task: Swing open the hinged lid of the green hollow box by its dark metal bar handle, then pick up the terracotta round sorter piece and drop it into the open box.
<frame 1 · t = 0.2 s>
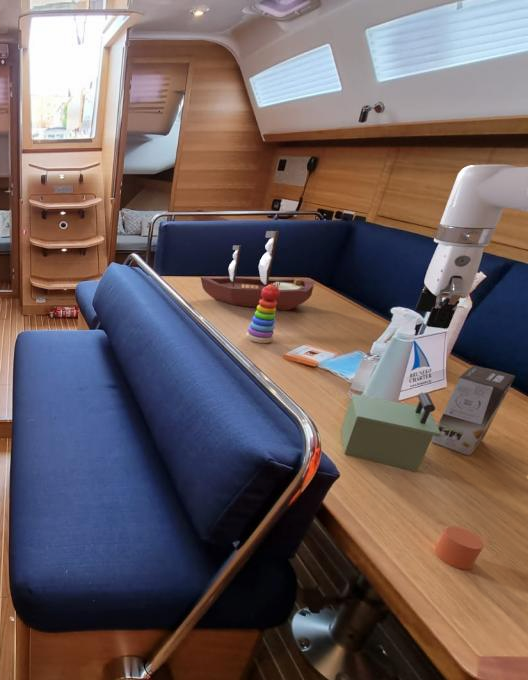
hand: (430, 318, 86), 26 cm above the table, tool pointing down, fingers open, 9 cm apart
green hollow box: (375, 449, 88), on the table
sailing ship: (249, 303, 171), on the table
coffee box: (455, 441, 90), on the table
stacking toy: (258, 339, 140), on the table
sorter piece: (452, 557, 65), on the table
green box lid: (396, 404, 83), point 11 cm above the table, hinge at 0.0°
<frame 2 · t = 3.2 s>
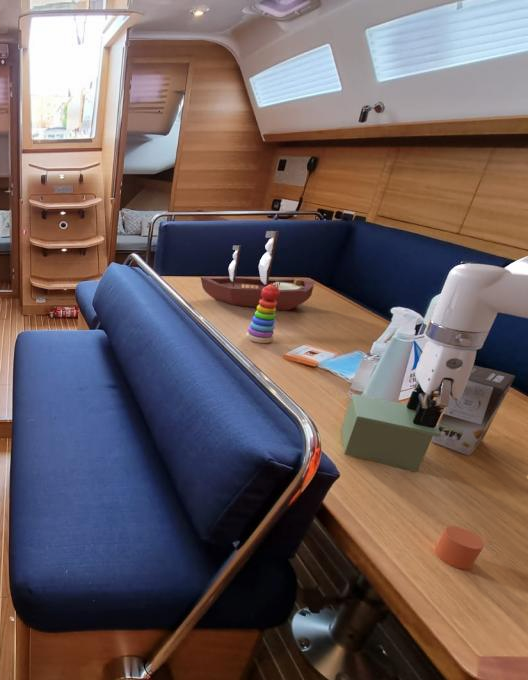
hand: (420, 416, 82), 10 cm above the table, tool pointing down, fingers closed on green box lid, 5 cm apart
green box lid: (396, 404, 83), point 11 cm above the table, hinge at -0.2°, touching gripper
everything else where it was.
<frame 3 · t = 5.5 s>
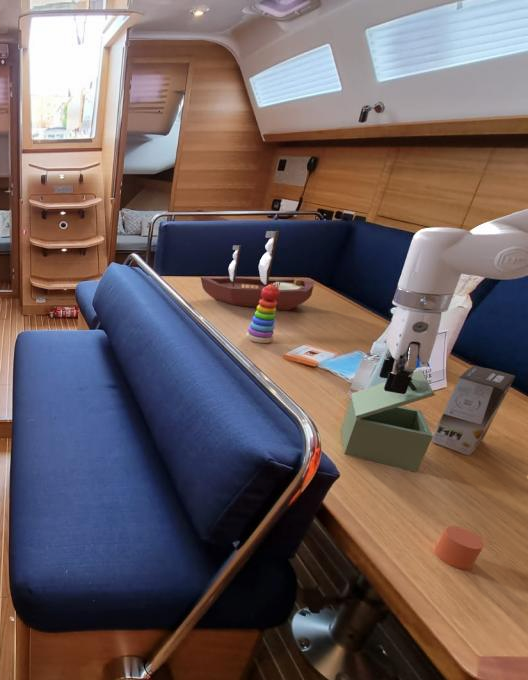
hand: (391, 384, 83), 16 cm above the table, tool pointing down, fingers closed on green box lid, 5 cm apart
green box lid: (382, 385, 83), point 15 cm above the table, hinge at 41.7°, touching gripper
everything else where it was.
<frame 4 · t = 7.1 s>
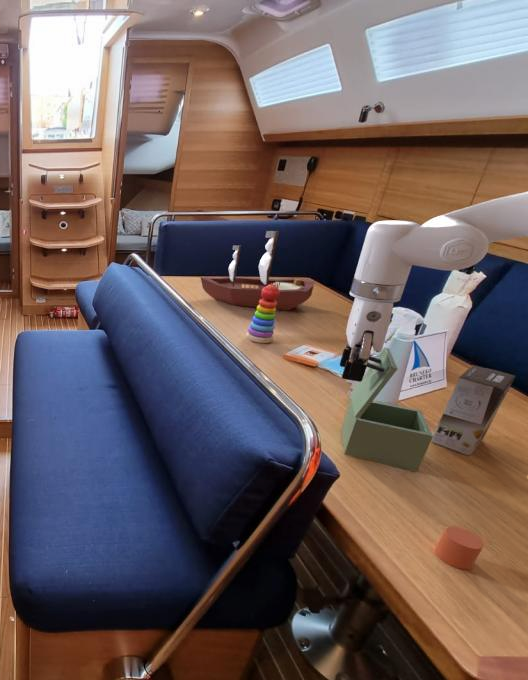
hand: (350, 372, 86), 17 cm above the table, tool pointing down, fingers closed on green box lid, 5 cm apart
green box lid: (359, 378, 85), point 16 cm above the table, hinge at 76.3°, touching gripper
everything else where it was.
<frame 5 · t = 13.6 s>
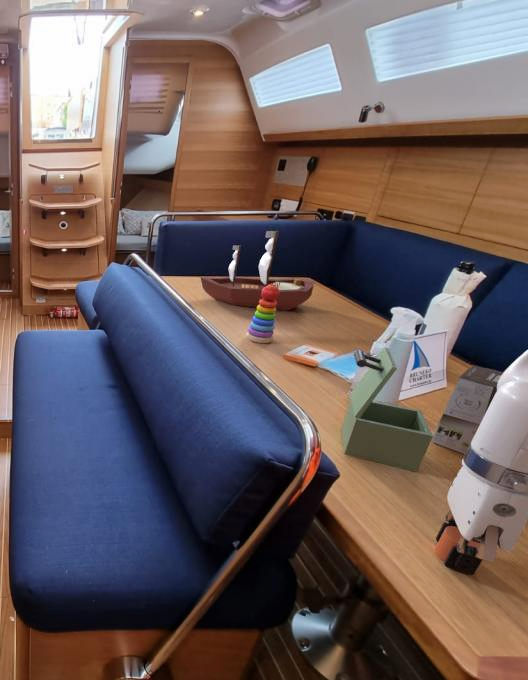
hand: (453, 555, 65), 0 cm above the table, tool pointing down, fingers closed on sorter piece, 4 cm apart
sorter piece: (452, 557, 65), on the table, touching gripper
green box lid: (359, 378, 85), point 16 cm above the table, hinge at 76.7°
everything else where it was.
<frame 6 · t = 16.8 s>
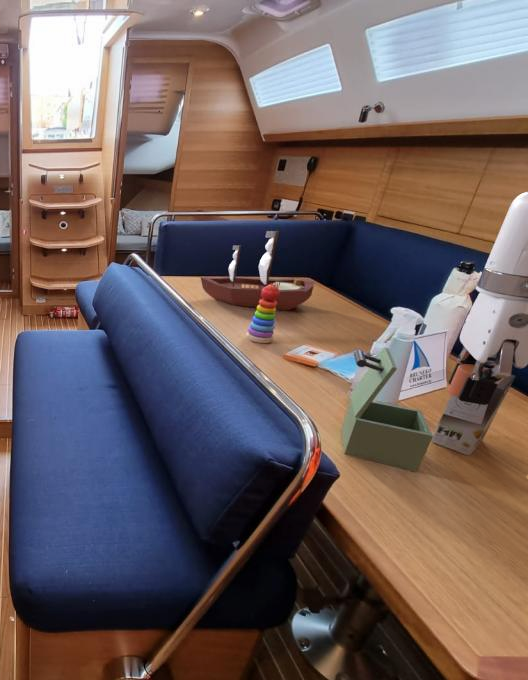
hand: (467, 393, 66), 23 cm above the table, tool pointing down, fingers closed on sorter piece, 4 cm apart
sorter piece: (466, 395, 66), point 23 cm above the table, touching gripper
everything else where it was.
when the fingers open (17 cm above the table, at t = 20.1 s): sorter piece drops 16 cm, resting on green hollow box.
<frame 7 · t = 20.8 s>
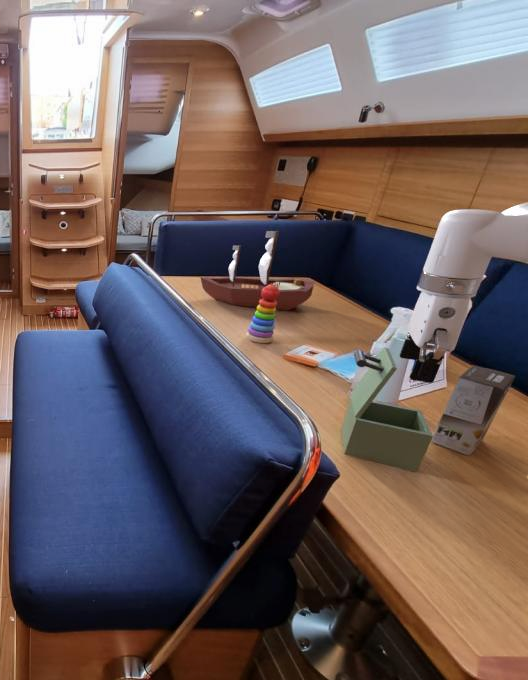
hand: (414, 369, 80), 20 cm above the table, tool pointing down, fingers open, 9 cm apart
sorter piece: (382, 447, 88), point 1 cm above the table, touching green hollow box
everything else where it was.
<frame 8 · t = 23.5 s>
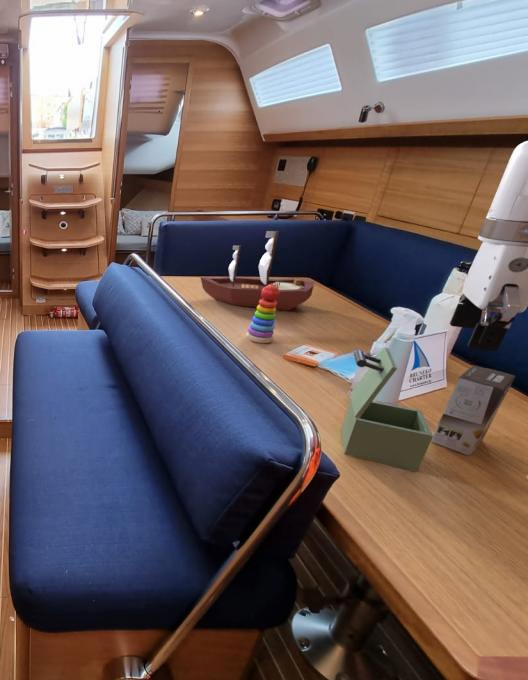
hand: (471, 337, 68), 30 cm above the table, tool pointing down, fingers open, 9 cm apart
nothing on the table moved.
at the end: green box lid at +77° (first picture: +0°); sorter piece inside the target area in the green hollow box (0.9 cm from its centre), point 0.8 cm above the green hollow box's base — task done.
